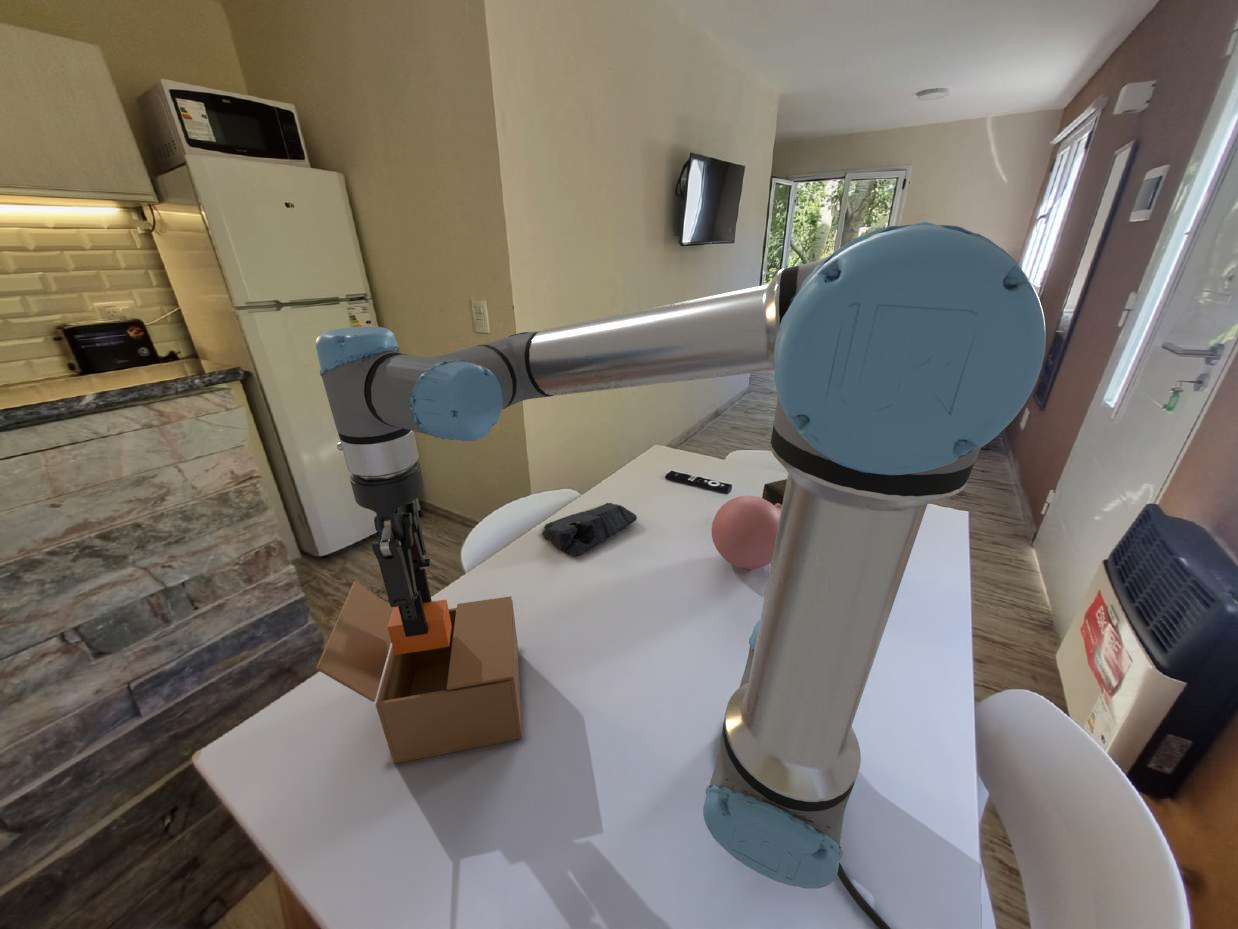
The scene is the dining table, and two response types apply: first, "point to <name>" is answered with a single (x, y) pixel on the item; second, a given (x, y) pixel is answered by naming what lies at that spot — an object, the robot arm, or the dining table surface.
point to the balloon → (746, 531)
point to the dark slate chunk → (588, 527)
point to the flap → (358, 643)
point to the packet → (434, 639)
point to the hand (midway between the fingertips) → (419, 620)
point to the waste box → (455, 687)
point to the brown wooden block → (774, 492)
